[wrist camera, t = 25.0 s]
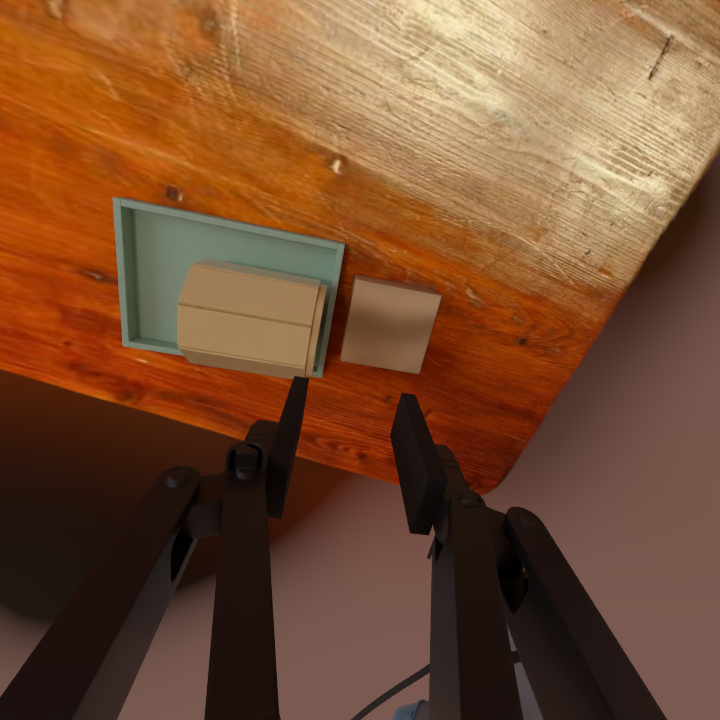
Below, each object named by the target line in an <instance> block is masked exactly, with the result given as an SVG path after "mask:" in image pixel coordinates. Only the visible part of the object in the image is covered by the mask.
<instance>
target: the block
mask: <svg viewBox="0 0 720 720" xmlns="http://www.w3.org/2000/svg"><path fill="white" fill-rule="evenodd" d="M441 297H442V296H441V295H440V294H439V293H438V292H436V291H435V290H434V289H430V288H425V287H419V286H414V285H409V284H404V283H399V282H394V281H389V280H384V279H379V278H374V277H369V276H363V275H358V274H354V280H353V285H352V290H351V296H350V301H349V306H348V311H347V317H346V322H345V327H344V333H343V338H342V343H341V348H340V361H342V362H348V363H354V364H360V365H366V366H372V367H378V368H384V369H390V370H396V371H402V372H408V373H414V374H419V373H420V369H421V366H422V363H423V359H424V356H425V352H426V349H427V345H428V342H429V338H430V335H431V332H432V328H433V325H434V321H435V318H436V314H437V311H438V308H439V304H440V301H441Z"/></svg>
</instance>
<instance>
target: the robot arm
mask: <svg viewBox="0 0 720 720" xmlns="http://www.w3.org/2000/svg"><path fill="white" fill-rule="evenodd" d="M308 382H309V378H305V377H299V376H294V379H293V382H292V385H291V388H290V391H289V394H288V397H287V400H286V403H285V406H284V409H283V412H282V415H281V418H280V421H279V422H272V421H265V420H258V421H257V422H255V423H254V424H253V425H251V427H250V430H249V432H248V434H247V436H246V438H245V441H243V442H238V443H236V444H233V445H232V446H231V447H230V448H229V449H228V451H227V454H226V470H225V471H224V472H221V473H219V474H214V475H207V476H200V473H199V471H198V470H196V469H195V468H193V467H189V466H176V467H172V468H169V469H167V470H165V471H163V472H162V473H161V474H160V475H159V476H158V477H157V478H156V479H155V481H154V482H153V483H152V485H151V487H150V488H149V489H148V491H147V492H146V493H145V495H144V496H143V498H142V499H141V500H140V502H139V503H138V505H137V506H136V507H135V509H134V510H133V512H132V513H131V514H130V516H129V517H128V519H127V520H126V521H125V523H124V524H123V526H122V527H121V528H120V530H119V531H118V533H117V534H116V536H115V537H114V538H113V540H112V541H111V542H110V544H109V545H108V547H107V548H106V549H105V551H104V552H103V554H102V555H101V557H100V558H99V559H98V561H97V562H96V564H95V565H94V567H93V568H92V569H91V571H90V572H89V573H88V575H87V576H86V578H85V579H84V581H83V582H82V583H81V585H80V586H79V588H78V589H77V590H76V592H75V593H74V595H73V596H72V597H71V599H70V600H69V601H68V603H67V604H66V606H65V607H64V608H63V610H62V611H61V613H60V614H59V615H58V617H57V618H56V620H55V621H54V623H53V624H52V625H51V627H50V628H49V630H48V631H47V632H46V634H45V635H44V637H43V638H42V639H41V641H40V642H39V644H38V645H37V646H36V648H35V649H34V651H33V652H32V654H31V655H30V656H29V658H28V659H27V661H26V662H25V663H24V665H23V666H22V667H21V669H20V670H19V672H18V673H17V675H16V676H15V677H14V679H13V680H12V681H11V683H10V684H9V686H8V687H7V689H6V690H5V691H4V693H3V694H2V696H1V697H0V720H117V718H118V716H119V714H120V712H121V709H122V707H123V705H124V703H125V700H126V698H127V696H128V694H129V691H130V689H131V687H132V685H133V683H134V680H135V678H136V676H137V674H138V671H139V669H140V667H141V665H142V662H143V660H144V658H145V656H146V654H147V651H148V649H149V647H150V645H151V642H152V640H153V638H154V636H155V633H156V631H157V629H158V627H159V625H160V622H161V620H162V618H163V616H164V613H165V611H166V609H167V607H168V604H169V602H170V600H171V598H172V596H173V593H174V591H175V589H176V587H177V584H178V582H179V580H180V578H181V575H182V573H183V571H184V569H185V567H186V564H187V562H188V560H189V558H190V555H191V553H192V551H193V548H194V546H195V544H196V542H197V540H198V538H204V537H209V536H215V535H220V543H219V554H218V565H217V577H216V590H215V601H214V613H213V624H212V636H211V649H210V660H209V671H208V684H207V695H206V707H205V719H204V720H281V719H280V715H279V705H278V689H277V673H276V654H275V638H274V620H273V605H272V587H271V569H270V552H269V535H268V518H267V517H274V518H282V514H283V509H284V504H285V500H286V495H287V490H288V486H289V481H290V477H291V472H292V467H293V463H294V458H295V454H296V449H297V445H298V440H299V435H300V431H301V426H302V421H303V414H304V408H305V401H306V395H307V388H308ZM390 437H391V442H392V447H393V452H394V456H395V461H396V466H397V471H398V476H399V481H400V486H401V491H402V496H403V501H404V506H405V511H406V516H407V521H408V526H409V530H410V533H413V534H422V535H429V533H430V530H431V527H432V525H433V527H434V530H435V537H434V540H433V543H432V545H431V548H430V551H429V553H428V557H427V558H428V559H430V557H431V555H432V582H431V587H432V588H431V633H430V664H428V665H427V666H426V667H424V668H423V669H421V670H420V671H418V672H417V673H415V674H414V675H412V676H410V677H409V678H407V679H406V680H404V681H402V682H401V683H399V684H398V685H396V686H395V687H393V688H392V689H390V690H389V691H387V692H386V693H384V694H383V695H382V696H380V697H379V698H377V699H376V700H375V701H373V702H372V703H371V704H369V705H368V706H367V707H366V708H364V709H363V710H362V711H361V712H359V713H358V714H357V715H356V716H355V717H354V718H353V719H351V720H361V719H362V718H363V717H364V716H366V715H367V714H368V713H369V712H371V711H372V710H374V709H375V708H376V707H378V706H379V705H380V704H382V703H383V702H385V701H386V700H387V699H389V698H390V697H392V696H393V695H395V694H396V693H398V692H399V691H401V690H403V689H404V688H406V687H407V686H409V685H411V684H412V683H413V682H416V681H417V680H419V679H420V678H422V677H423V676H425V675H426V674H428V673H429V672H430V679H429V701H425V700H419V701H418V702H417V703H413V704H409V705H405V706H401V707H399V708H398V709H397V710H396V712H395V713H394V715H393V717H392V719H391V720H667V719H666V717H665V715H664V714H663V712H662V711H661V709H660V708H659V706H658V705H657V703H656V701H655V700H654V698H653V696H652V695H651V693H650V692H649V690H648V689H647V687H646V685H645V684H644V682H643V681H642V679H641V678H640V676H639V675H638V673H637V671H636V670H635V668H634V666H633V665H632V663H631V662H630V660H629V658H628V657H627V655H626V654H625V652H624V651H623V649H622V648H621V646H620V644H619V643H618V641H617V639H616V638H615V636H614V635H613V633H612V632H611V630H610V628H609V627H608V625H607V624H606V622H605V620H604V619H603V617H602V616H601V614H600V613H599V611H598V610H597V608H596V606H595V605H594V603H593V602H592V600H591V598H590V597H589V595H588V594H587V592H586V590H585V589H584V587H583V586H582V584H581V583H580V581H579V579H578V578H577V576H576V575H575V573H574V572H573V570H572V568H571V567H570V565H569V564H568V562H567V560H566V559H565V557H564V556H563V554H562V552H561V551H560V549H559V548H558V546H557V545H556V543H555V541H554V540H553V538H552V537H551V535H550V533H549V532H548V530H547V529H546V527H545V526H544V524H543V523H542V522H541V520H540V519H539V518H538V517H537V516H536V515H534V514H533V513H532V512H530V511H528V510H526V509H524V508H521V507H511V508H510V509H508V511H507V513H506V514H504V513H501V512H498V511H496V510H493V509H491V508H488V507H486V505H485V502H484V500H483V499H482V498H481V496H480V495H479V494H477V493H476V492H474V491H473V490H470V489H469V487H468V484H467V482H466V480H465V478H464V476H463V473H462V471H461V469H460V467H459V465H458V463H457V460H456V458H455V456H454V454H453V452H452V451H451V450H450V449H449V448H448V447H447V446H445V445H438V444H434V442H433V439H432V437H431V434H430V432H429V429H428V427H427V424H426V421H425V419H424V416H423V414H422V411H421V409H420V406H419V403H418V401H417V398H416V396H415V395H413V394H406V393H401V397H400V400H399V404H398V408H397V412H396V415H395V419H394V423H393V426H392V430H391V434H390Z"/></svg>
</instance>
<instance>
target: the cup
mask: <svg viewBox="0 0 720 720" xmlns="http://www.w3.org/2000/svg"><path fill="white" fill-rule="evenodd" d="M326 294H327V285H323V284H321V280H317V279H312V278H306V277H301V276H296V275H291V274H286V273H280V272H275V271H270V270H265V269H260V268H254V267H249V266H244V265H239V264H234V263H228V262H223V261H218V260H213V259H205V260H202V261H199V262H196V263H193V264H192V266H191V267H190V269H189V272H188V275H187V277H186V280H185V283H184V286H183V288H182V291H181V294H180V296H179V299H178V302H179V304H178V305H177V345H178V346H179V347H178V349H179V350H180V351H181V353H182V354H183V355H184V356H185V358H186V359H187V360H188V361H189V363H193V364H199V365H205V366H212V367H218V368H224V369H230V370H237V371H243V372H249V373H256V374H262V375H268V376H275V377H281V378H287V379H294V376H299V377H308V378H312V376H313V371H314V366H315V361H316V355H317V349H318V344H319V338H320V332H321V326H322V320H323V314H324V307H325V301H326Z"/></svg>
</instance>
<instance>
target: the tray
mask: <svg viewBox="0 0 720 720" xmlns="http://www.w3.org/2000/svg"><path fill="white" fill-rule="evenodd" d="M113 209H114V224H115V239H116V253H117V268H118V283H119V297H120V312H121V327H122V341H123V346H125V347H131V348H137V349H144V350H150V351H156V352H162V353H169V354H175V355H181V356H184V355H183V354H182V353H181V351H180V350H179V349H178V347H179V346H178V345H177V305H178V304H179V302H178V299H179V296H180V294H181V291H182V288H183V286H184V283H185V280H186V277H187V275H188V272H189V269H190V267H191V266H192V264H193V263H196V262H199V261H202V260H205V259H213V260H218V261H223V262H228V263H234V264H239V265H244V266H249V267H254V268H260V269H265V270H270V271H275V272H280V273H286V274H291V275H296V276H301V277H306V278H312V279H317V280H321V284H323V285H327V294H326V301H325V307H324V314H323V320H322V326H321V332H320V338H319V344H318V349H317V355H316V361H315V366H314V371H313V376H312V377H319V378H322V375H323V369H324V363H325V357H326V352H327V346H328V340H329V334H330V329H331V323H332V317H333V311H334V305H335V300H336V294H337V288H338V282H339V277H340V271H341V265H342V259H343V254H344V248H345V243H344V242H339V241H334V240H329V239H324V238H319V237H315V236H310V235H305V234H300V233H295V232H290V231H285V230H281V229H276V228H271V227H266V226H261V225H256V224H251V223H247V222H242V221H237V220H232V219H227V218H222V217H217V216H213V215H208V214H203V213H198V212H193V211H188V210H183V209H178V208H174V207H169V206H164V205H159V204H154V203H149V202H144V201H140V200H135V199H130V198H121V197H113Z"/></svg>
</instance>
